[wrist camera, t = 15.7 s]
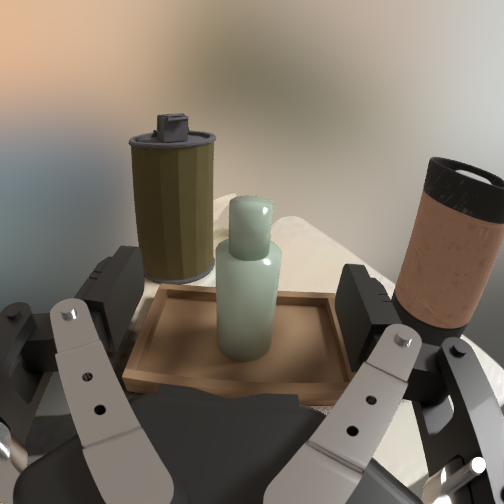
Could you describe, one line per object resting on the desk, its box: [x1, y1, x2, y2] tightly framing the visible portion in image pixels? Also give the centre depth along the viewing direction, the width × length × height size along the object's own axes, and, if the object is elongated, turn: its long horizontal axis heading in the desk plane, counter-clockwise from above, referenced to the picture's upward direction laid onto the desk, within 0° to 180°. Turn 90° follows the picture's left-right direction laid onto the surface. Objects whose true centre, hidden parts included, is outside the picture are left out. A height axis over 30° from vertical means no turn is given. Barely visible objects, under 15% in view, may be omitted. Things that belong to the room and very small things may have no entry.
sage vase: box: [216, 196, 282, 361], centre depth 27 cm, size 5×5×14 cm
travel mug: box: [391, 157, 504, 347], centre depth 23 cm, size 8×8×20 cm
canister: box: [129, 113, 216, 284], centre depth 39 cm, size 11×10×20 cm
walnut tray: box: [122, 283, 357, 406], centre depth 30 cm, size 20×14×2 cm
